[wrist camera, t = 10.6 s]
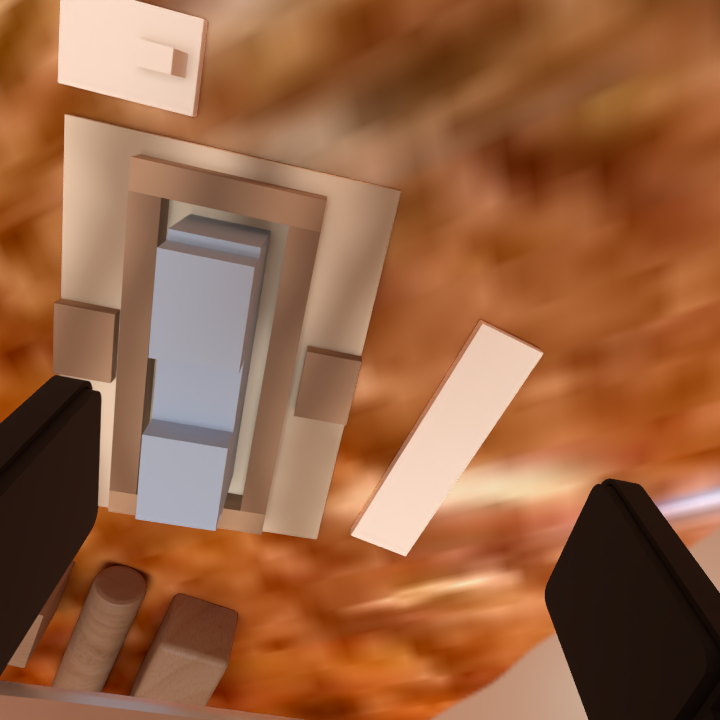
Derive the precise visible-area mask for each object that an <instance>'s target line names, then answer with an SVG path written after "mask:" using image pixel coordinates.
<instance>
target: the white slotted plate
mask: <svg viewBox="0 0 720 720" xmlns="http://www.w3.org/2000/svg"><path fill="white" fill-rule="evenodd" d="M207 27H208V22H207V21H206V20H204V19H201V18H198V17H194V16H190V15H187V14H183V13H179V12H176V11H172V10H168V9H165V8H161V7H157V6H154V5H150V4H146V3H143V2H139V1H135V0H60V29H59V61H58V83H61V84H65V85H69V86H73V87H77V88H81V89H85V90H89V91H93V92H97V93H101V94H105V95H109V96H113V97H117V98H121V99H125V100H129V101H133V102H136V103H140V104H144V105H148V106H152V107H156V108H160V109H164V110H168V111H172V112H176V113H180V114H184V115H188V116H192V117H197V112H198V103H199V95H200V86H201V78H202V69H203V61H204V52H205V44H206V35H207Z"/></svg>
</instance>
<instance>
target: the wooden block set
mask: <svg viewBox="0 0 720 720" xmlns="http://www.w3.org/2000/svg"><path fill="white" fill-rule="evenodd" d="M74 563H75V562H74V561H72V562H71V564H70V565H69V567H68V568H67V570H66V572H65V573H64V575H63V576H62V578H61V580H60V581H59V583H58V584H57V586H56V588H55V589H54V591H53V592H52V594H51V596H50V597H49V599H48V600H47V602H46V604H45V605H44V607H43V608H42V610H41V612H40V613H39V615H38V616H37V618H36V620H35V621H34V623H33V624H32V626H31V628H30V629H29V631H28V632H27V634H26V636H25V637H24V639H23V640H22V642H21V644H20V645H19V647H18V648H17V650H16V652H15V653H14V655H13V656H12V658H11V660H10V661H9V663H8V664H7V665H12V666H17V667H22V668H25V666H26V664H27V662H28V660H29V659H30V657H31V655H32V653H33V652H34V650H35V648H36V646H37V644H38V643H39V641H40V639H41V637H42V635H43V634H44V632H45V630H46V628H47V627H48V625H49V623H50V621H51V619H52V618H53V616H54V614H55V612H56V610H57V608H58V605H59V602H60V600H61V597H62V594H63V592H64V589H65V586H66V584H67V581H68V578H69V576H70V573H71V570H72V568H73V565H74ZM145 593H146V584H145V580H144V578H143V577H142V575H141V574H140V573H139V572H137V571H136V570H134V569H132V568H130V567H126V566H111V567H108V568H106V569H104V570H102V571H101V572H100V573H99V574H98V575H97V576H96V577H95V579H94V581H93V583H92V586H91V588H90V591H89V593H88V596H87V598H86V601H85V603H84V606H83V608H82V611H81V613H80V616H79V618H78V621H77V623H76V626H75V628H74V631H73V633H72V636H71V638H70V641H69V643H68V646H67V648H66V651H65V653H64V656H63V658H62V661H61V663H60V666H59V668H58V671H57V673H56V676H55V678H54V681H53V683H52V686H51V687H58V688H66V689H75V690H84V691H92V692H101V691H102V689H103V687H104V685H105V682H106V680H107V678H108V676H109V673H110V671H111V669H112V667H113V665H114V662H115V660H116V658H117V656H118V653H119V651H120V649H121V647H122V645H123V642H124V640H125V638H126V636H127V633H128V631H129V629H130V627H131V625H132V622H133V620H134V618H135V616H136V613H137V611H138V609H139V607H140V605H141V602H142V600H143V598H144V596H145ZM237 619H238V613H237V612H235V611H234V610H231V609H228V608H225V607H222V606H219V605H215V604H212V603H209V602H206V601H203V600H200V599H197V598H194V597H190V596H187V595H184V594H177V595H176V596H174V598H173V600H172V602H171V604H170V606H169V608H168V610H167V612H166V614H165V616H164V619H163V621H162V623H161V625H160V627H159V629H158V631H157V633H156V635H155V637H154V640H153V642H152V644H151V646H150V648H149V650H148V652H147V654H146V656H145V658H144V660H143V663H142V665H141V667H140V669H139V671H138V673H137V675H136V678H135V681H134V684H133V686H132V689H131V692H130V695H129V696H131V697H139V698H146V699H154V700H161V701H169V702H176V703H184V704H191V705H199V706H206V704H207V703H208V701H209V699H210V697H211V695H212V694H213V692H214V690H215V688H216V686H217V685H218V683H219V681H220V679H221V677H222V676H223V674H224V672H225V670H226V669H227V667H228V665H229V660H230V655H231V650H232V645H233V639H234V634H235V629H236V624H237Z"/></svg>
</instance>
